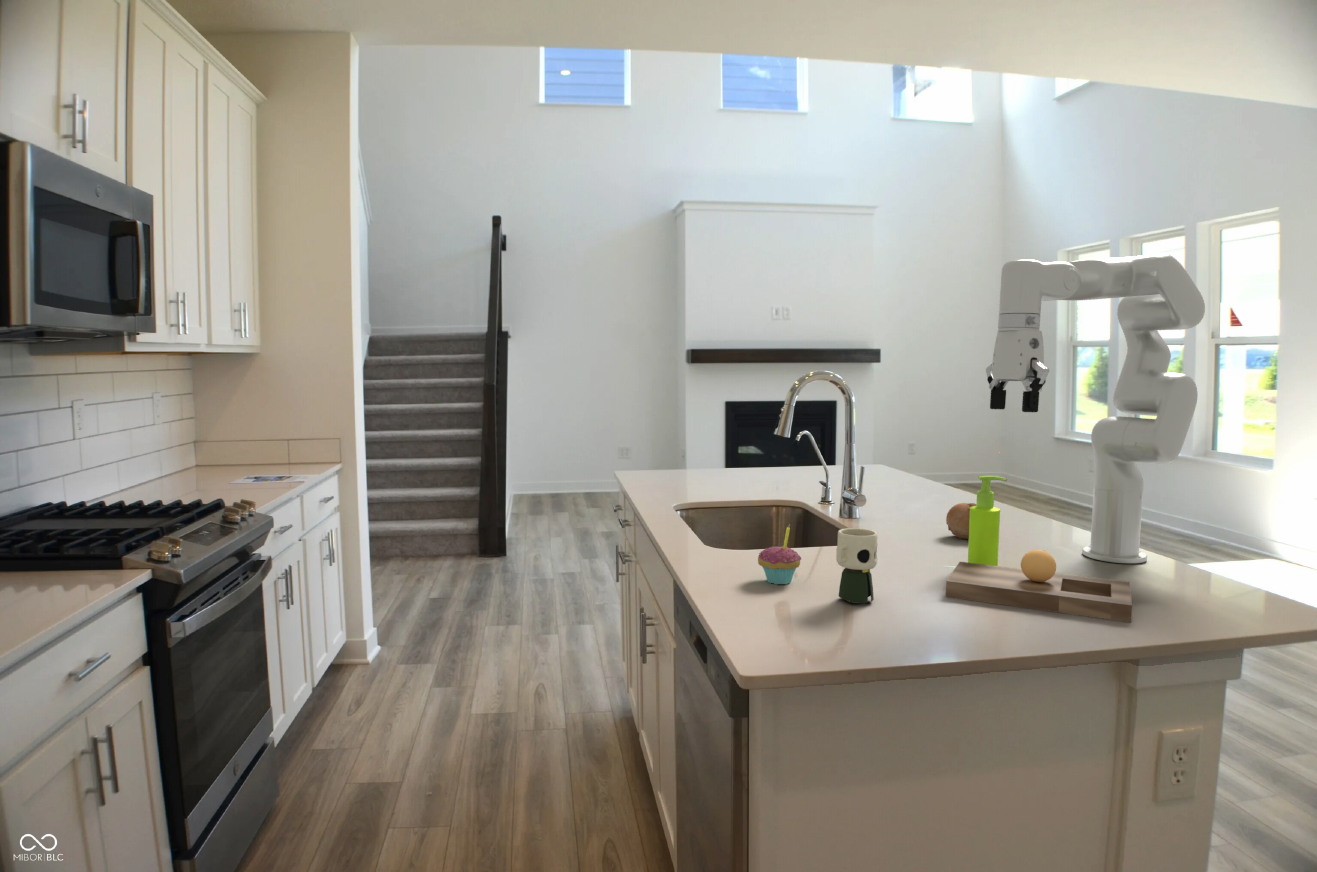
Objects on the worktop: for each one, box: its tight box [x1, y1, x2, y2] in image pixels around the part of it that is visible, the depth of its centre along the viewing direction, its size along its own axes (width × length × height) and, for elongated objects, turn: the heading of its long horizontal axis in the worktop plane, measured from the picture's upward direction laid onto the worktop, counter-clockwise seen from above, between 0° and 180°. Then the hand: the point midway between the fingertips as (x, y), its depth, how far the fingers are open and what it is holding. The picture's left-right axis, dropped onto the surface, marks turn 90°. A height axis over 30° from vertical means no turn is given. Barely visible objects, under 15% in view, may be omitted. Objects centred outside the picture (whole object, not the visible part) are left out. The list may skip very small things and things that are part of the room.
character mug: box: [835, 527, 878, 604], centre depth 145 cm, size 11×7×13 cm, turn 127°
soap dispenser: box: [967, 475, 1008, 566], centre depth 166 cm, size 6×7×20 cm
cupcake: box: [757, 523, 802, 585], centre depth 158 cm, size 9×8×12 cm
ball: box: [1020, 549, 1057, 582], centre depth 148 cm, size 6×6×6 cm
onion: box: [945, 502, 977, 540], centre depth 196 cm, size 10×9×10 cm
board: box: [945, 561, 1133, 623], centre depth 148 cm, size 16×30×3 cm, turn 61°
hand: (1013, 410), depth 157 cm, fingers open, 9 cm apart
